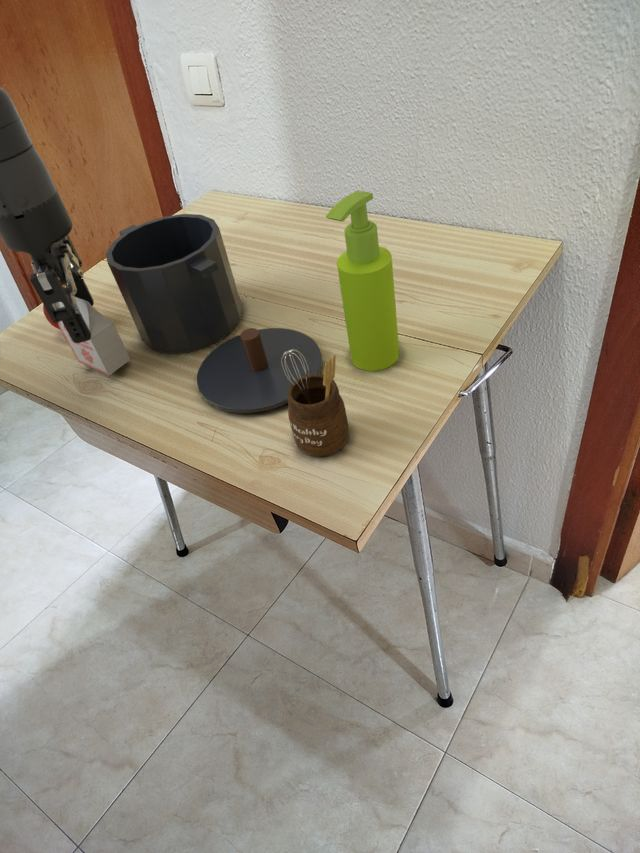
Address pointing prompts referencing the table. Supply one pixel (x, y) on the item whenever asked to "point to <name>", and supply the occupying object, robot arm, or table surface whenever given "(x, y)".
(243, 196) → the table surface
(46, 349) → the table surface
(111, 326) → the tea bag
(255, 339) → the lid
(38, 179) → the robot arm
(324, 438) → the utensil holder
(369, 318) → the soap dispenser
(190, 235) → the pot
